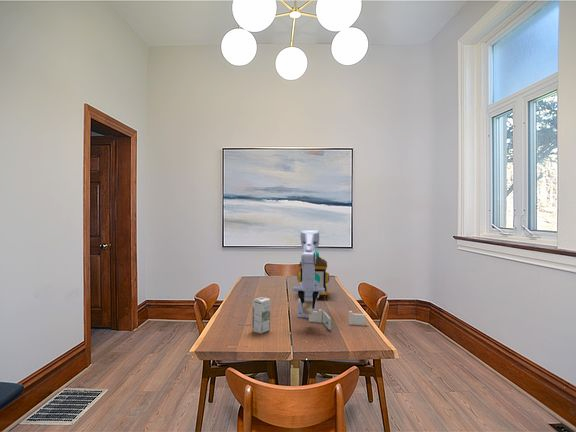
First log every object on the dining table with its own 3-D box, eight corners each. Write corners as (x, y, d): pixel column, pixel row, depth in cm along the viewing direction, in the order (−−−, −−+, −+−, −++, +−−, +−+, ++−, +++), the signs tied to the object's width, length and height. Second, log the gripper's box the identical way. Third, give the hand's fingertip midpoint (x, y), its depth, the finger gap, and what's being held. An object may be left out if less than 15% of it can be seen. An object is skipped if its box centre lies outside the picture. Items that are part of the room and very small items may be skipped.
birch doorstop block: (302, 313, 151) (302, 303, 151) (305, 308, 159) (305, 299, 159) (311, 314, 150) (311, 304, 150) (313, 309, 158) (313, 299, 158)
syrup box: (261, 327, 155) (261, 296, 155) (270, 330, 151) (270, 298, 151) (252, 331, 151) (252, 299, 150) (261, 334, 147) (261, 301, 147)
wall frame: (308, 321, 163) (308, 309, 163) (309, 320, 165) (309, 308, 165) (365, 325, 158) (365, 313, 158) (365, 324, 159) (365, 312, 159)
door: (320, 321, 162) (320, 311, 162) (324, 321, 162) (324, 311, 162) (326, 330, 151) (326, 318, 151) (330, 329, 151) (331, 318, 151)
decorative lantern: (329, 293, 219) (329, 247, 219) (329, 301, 200) (330, 250, 199) (298, 292, 221) (298, 246, 221) (296, 300, 202) (296, 250, 201)
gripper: (291, 279, 152) (291, 309, 152) (323, 280, 149) (323, 311, 149) (294, 276, 159) (294, 304, 159) (325, 277, 156) (324, 306, 156)
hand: (308, 307), depth 154 cm, fingers closed on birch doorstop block, 4 cm apart
